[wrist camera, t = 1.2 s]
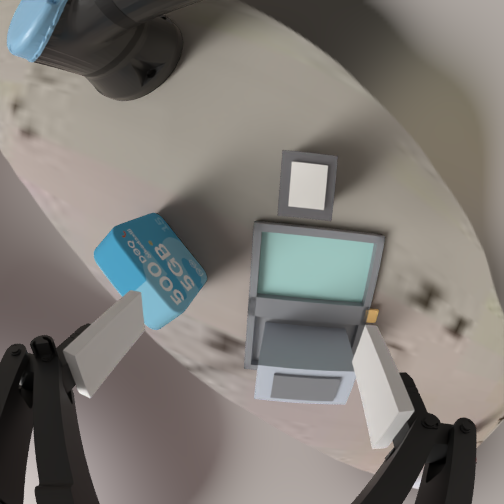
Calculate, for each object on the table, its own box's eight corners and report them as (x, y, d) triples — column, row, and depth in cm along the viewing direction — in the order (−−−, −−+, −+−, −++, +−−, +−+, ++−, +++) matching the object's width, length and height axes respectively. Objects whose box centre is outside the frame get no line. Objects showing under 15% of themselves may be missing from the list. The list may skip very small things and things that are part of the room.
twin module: (265, 321, 39) (257, 367, 29) (345, 328, 38) (358, 373, 28) (261, 353, 41) (253, 400, 31) (336, 359, 40) (345, 406, 30)
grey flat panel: (255, 220, 35) (254, 222, 34) (391, 235, 33) (395, 238, 32) (245, 362, 42) (244, 368, 41) (355, 371, 40) (357, 376, 39)
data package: (210, 276, 38) (180, 318, 27) (188, 292, 40) (154, 335, 28) (157, 210, 37) (108, 227, 25) (138, 229, 38) (87, 252, 27)
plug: (283, 156, 33) (282, 149, 23) (323, 160, 32) (338, 155, 22) (280, 203, 34) (277, 216, 24) (319, 207, 34) (332, 222, 24)
